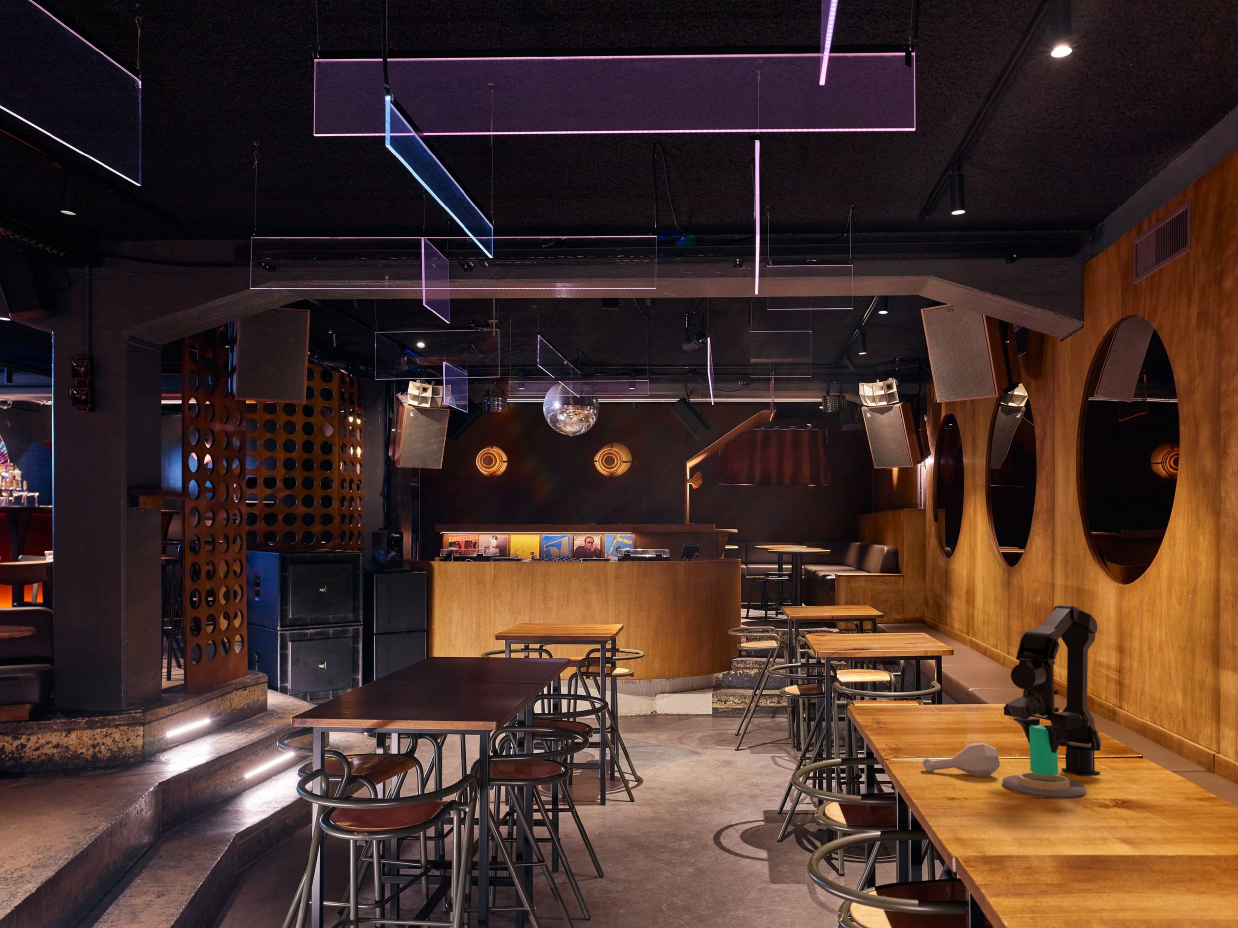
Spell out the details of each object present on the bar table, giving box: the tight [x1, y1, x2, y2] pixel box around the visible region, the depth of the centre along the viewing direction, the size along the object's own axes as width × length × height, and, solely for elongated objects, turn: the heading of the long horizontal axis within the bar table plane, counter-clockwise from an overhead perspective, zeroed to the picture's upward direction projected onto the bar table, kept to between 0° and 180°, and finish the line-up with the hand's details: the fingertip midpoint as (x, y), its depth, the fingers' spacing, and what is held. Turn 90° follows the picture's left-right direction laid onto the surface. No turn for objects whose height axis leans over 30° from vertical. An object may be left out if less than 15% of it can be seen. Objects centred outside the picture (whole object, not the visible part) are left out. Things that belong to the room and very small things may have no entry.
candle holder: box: [1001, 771, 1087, 799], centre depth 222 cm, size 18×18×2 cm
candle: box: [1029, 719, 1059, 775], centre depth 223 cm, size 6×6×12 cm
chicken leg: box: [922, 741, 1001, 778], centre depth 236 cm, size 8×18×8 cm, turn 73°
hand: (1042, 752), depth 223 cm, fingers closed on candle, 5 cm apart
